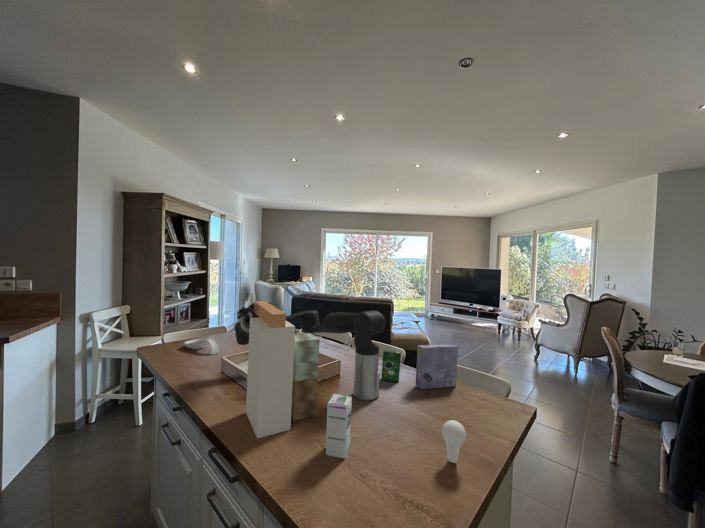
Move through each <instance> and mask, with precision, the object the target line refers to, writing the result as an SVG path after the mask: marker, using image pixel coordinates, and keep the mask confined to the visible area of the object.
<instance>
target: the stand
mask: <svg viewBox="0 0 705 528" xmlns="http://www.w3.org/2000/svg"><path fill="white" fill-rule="evenodd" d="M295 333H296V326H295V325H294V324H292V323H289V322H288V321H286V324H285V327H279V328H271V327H270V326H269V325H268V324H267V323H266V322H265V321H263V320H262V319H261V318H250V329H249V344H248V354H247V355H248V358H247V377H246V379H247V382H246V403H245V404H246V405H245V406H246V407H245V414H246V416H247V419H248V420H249V422H250V426H251V428H252V430H253V432H254V434H255V438H256V439H261V438H264V437H269V436H272V435H276V434H280V433H284V432H287V431H290V430H291V427H292V426H291V425H292V423H291V422H292V418H291V406H292V384H293V361H294V339H295V335H296V334H295Z"/></svg>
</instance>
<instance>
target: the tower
mask: <svg viewBox="0 0 705 528" xmlns="http://www.w3.org/2000/svg"><path fill="white" fill-rule="evenodd" d="M320 343H321V341H320V338H318V337H317V336H316V335H314V334H313V333H297V334H295V339H294V361H293V384H292V406H291V421H293V422H295V421H301V420H305V419H308V418H311V417H314V416H317V405H318V402H317V401H318V387H319V385H318V383H319V382H318V381H319V362H320V361H319V359H320Z"/></svg>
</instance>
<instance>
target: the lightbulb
mask: <svg viewBox="0 0 705 528" xmlns="http://www.w3.org/2000/svg"><path fill="white" fill-rule="evenodd" d="M441 434H442V437H443V439H444V442H445V445H446V452H447V453H446V455H447V458H446V459H447V460H448V462H450V463H451V464H454V463H457V462H458V457H459V454H460V449H461V447H462V446H463V444H464V443H465V441H466V439H467V432H466V429H465V427H464V425H463V424H462V423H460V422H459V421H457V420H454V419H451V420H447V421H446V422H444V424H443V425H442V428H441Z"/></svg>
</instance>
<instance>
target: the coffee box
mask: <svg viewBox="0 0 705 528" xmlns="http://www.w3.org/2000/svg"><path fill="white" fill-rule="evenodd" d="M401 352H402V351H395V350H389V349H383V352H382V363H381V377H380V378H381V381H385V380H388V381H387V382H394V381H395V382H396V383H399V382H400V370H401V359H402V358H401V357H402V353H401ZM395 382H394V383H395Z"/></svg>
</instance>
